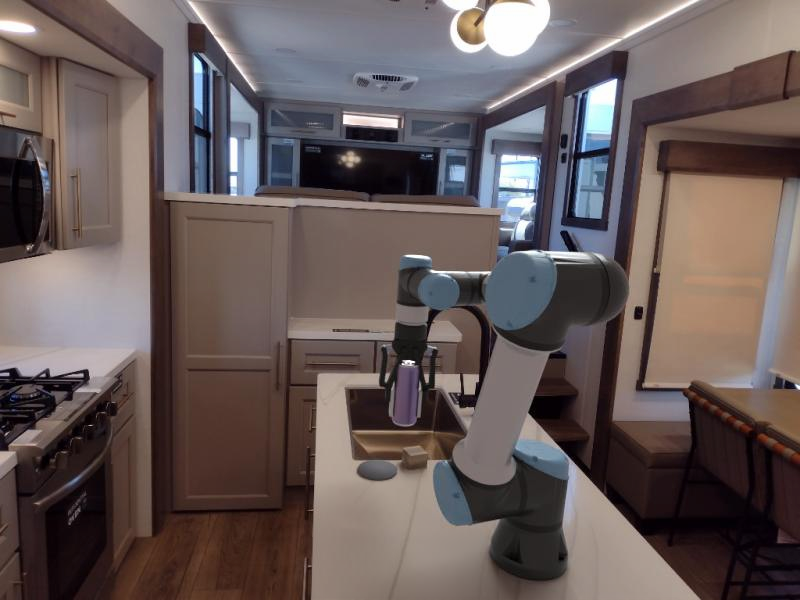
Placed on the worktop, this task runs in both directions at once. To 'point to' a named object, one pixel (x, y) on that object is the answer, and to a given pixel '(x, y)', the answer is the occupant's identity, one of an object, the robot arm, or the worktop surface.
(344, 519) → the worktop surface
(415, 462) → the walnut block
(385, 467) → the coaster
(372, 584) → the worktop surface
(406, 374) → the beverage can
